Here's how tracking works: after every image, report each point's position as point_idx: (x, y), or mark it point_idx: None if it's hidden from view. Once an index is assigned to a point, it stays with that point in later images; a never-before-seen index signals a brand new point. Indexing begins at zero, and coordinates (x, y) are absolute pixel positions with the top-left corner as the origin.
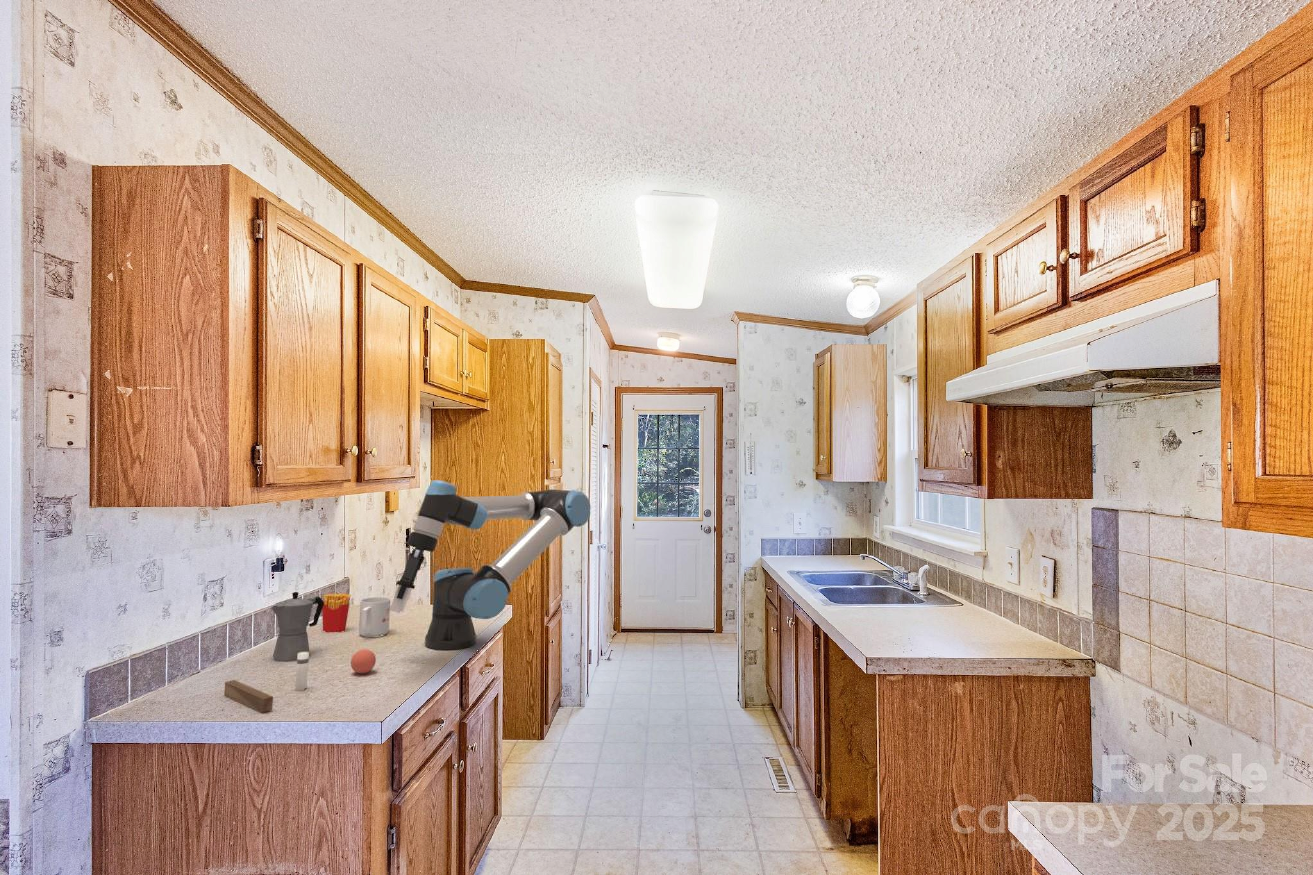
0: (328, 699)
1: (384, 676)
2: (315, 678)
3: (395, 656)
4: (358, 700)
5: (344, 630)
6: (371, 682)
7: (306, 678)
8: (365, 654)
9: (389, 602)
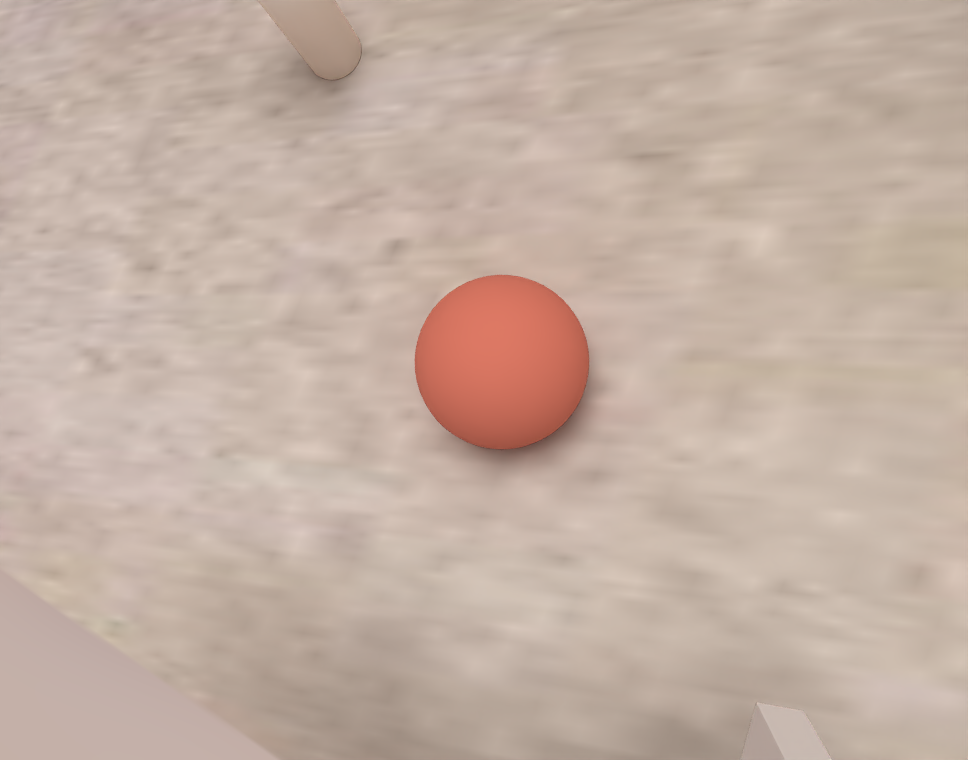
0: (119, 199)
1: (392, 499)
2: (504, 105)
3: (889, 635)
4: (46, 338)
5: None
6: (303, 415)
7: (295, 43)
8: (429, 362)
9: None
